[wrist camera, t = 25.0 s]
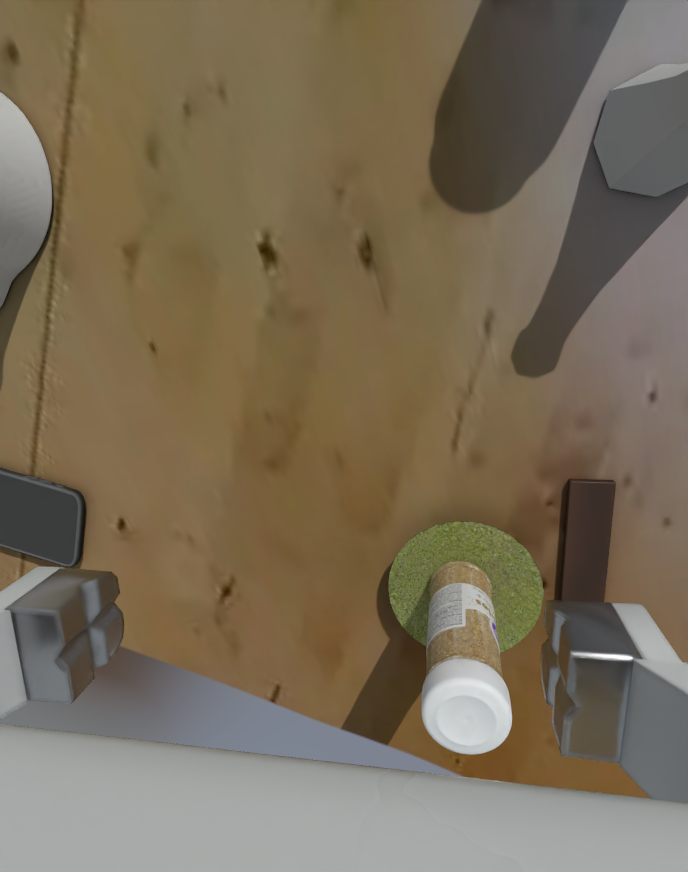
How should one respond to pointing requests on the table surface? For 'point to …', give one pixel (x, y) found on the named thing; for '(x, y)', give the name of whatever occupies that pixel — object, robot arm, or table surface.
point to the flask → (646, 132)
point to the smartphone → (41, 518)
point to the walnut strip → (587, 540)
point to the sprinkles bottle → (464, 663)
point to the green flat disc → (478, 545)
